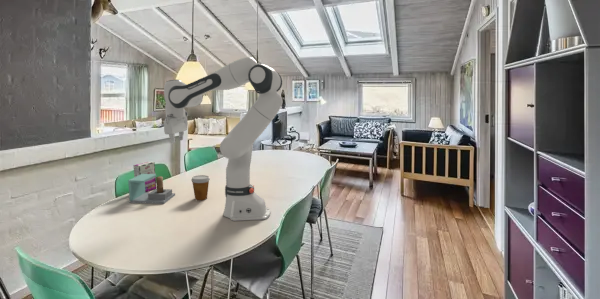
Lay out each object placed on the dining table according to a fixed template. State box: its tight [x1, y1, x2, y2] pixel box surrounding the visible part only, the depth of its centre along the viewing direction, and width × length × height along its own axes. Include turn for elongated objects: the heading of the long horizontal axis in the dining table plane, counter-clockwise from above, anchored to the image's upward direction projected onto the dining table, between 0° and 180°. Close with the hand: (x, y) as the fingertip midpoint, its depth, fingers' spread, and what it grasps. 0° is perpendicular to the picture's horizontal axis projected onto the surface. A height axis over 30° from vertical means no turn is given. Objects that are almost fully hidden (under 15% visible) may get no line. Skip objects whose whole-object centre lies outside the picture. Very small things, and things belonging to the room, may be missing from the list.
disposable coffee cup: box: [191, 174, 211, 201], centre depth 174 cm, size 10×10×12 cm
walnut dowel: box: [156, 176, 164, 193], centre depth 171 cm, size 3×3×11 cm
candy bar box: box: [133, 161, 157, 193], centre depth 185 cm, size 11×5×16 cm, turn 159°
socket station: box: [127, 173, 176, 205], centre depth 171 cm, size 18×14×12 cm
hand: (177, 141), depth 159 cm, fingers open, 8 cm apart
